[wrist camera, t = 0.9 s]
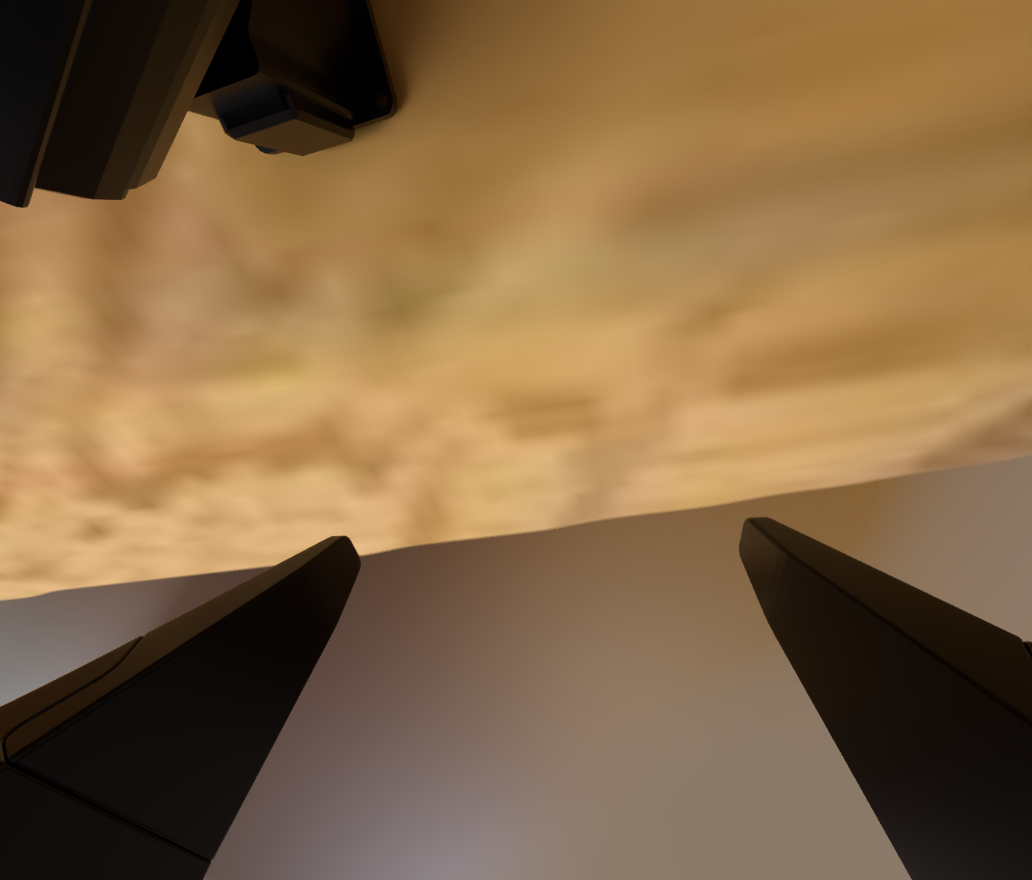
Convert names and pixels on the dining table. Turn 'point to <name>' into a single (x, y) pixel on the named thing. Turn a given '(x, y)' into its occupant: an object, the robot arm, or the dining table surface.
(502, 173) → the dining table surface
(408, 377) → the dining table surface
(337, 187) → the dining table surface
